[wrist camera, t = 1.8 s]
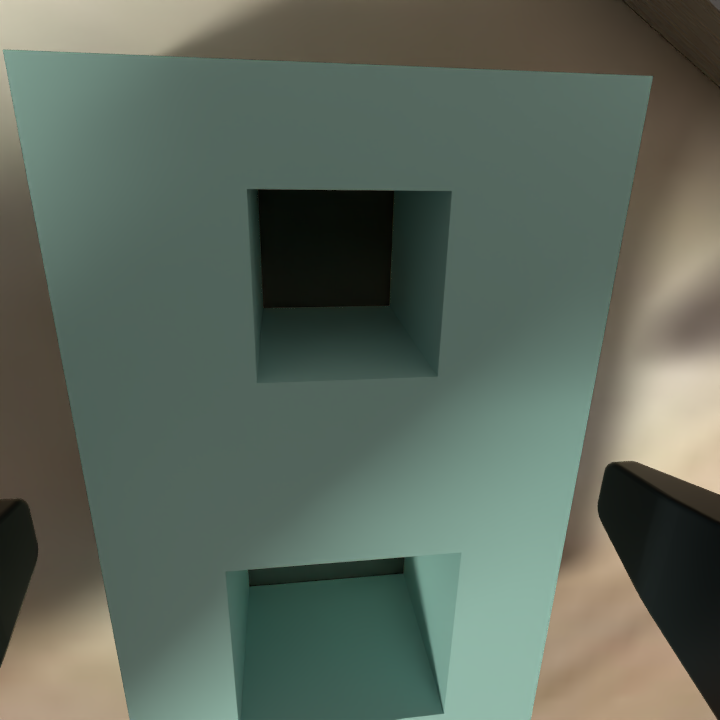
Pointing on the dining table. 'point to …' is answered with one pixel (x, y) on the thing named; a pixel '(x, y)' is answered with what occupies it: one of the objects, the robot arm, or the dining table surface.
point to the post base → (687, 29)
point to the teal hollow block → (327, 369)
